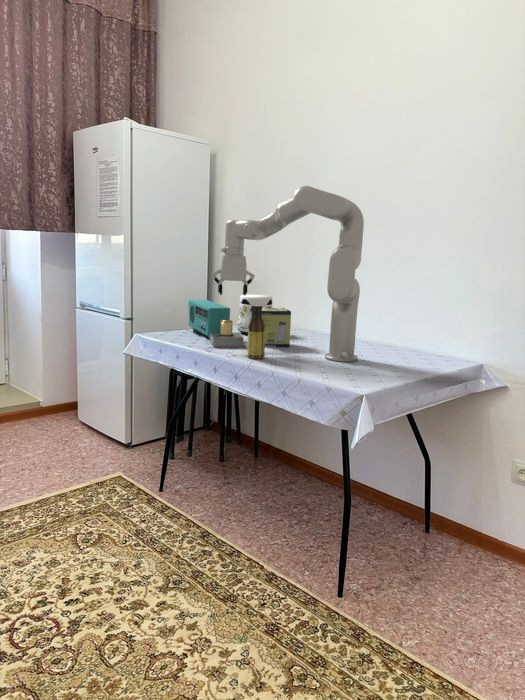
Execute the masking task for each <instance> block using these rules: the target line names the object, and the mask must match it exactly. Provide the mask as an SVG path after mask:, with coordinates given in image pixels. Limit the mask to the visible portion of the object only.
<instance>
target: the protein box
mask: <svg viewBox="0 0 525 700" xmlns="http://www.w3.org/2000/svg"><path fill="white" fill-rule="evenodd" d="M251 315H252V309H251V308H250V320H251ZM262 319H263V321H264V324H265V346H274V347H276V348H277V347H284V348H290V344H291V326H292V325H291V324H292V322H291V321H292V311H291V310H289V309H287V308H285V307H272V308H262Z"/></svg>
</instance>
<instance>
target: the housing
mask: <svg viewBox="0 0 525 700" xmlns="http://www.w3.org/2000/svg"><path fill="white" fill-rule="evenodd" d="M209 343H210V344H211V346H212V348H214V349H215V348H220V349H221V348H223V349H224V348H226V349H227V348H240V349H241V348H244V336H243V335H241V334H240V332H232V336H221V333H210V339H209Z"/></svg>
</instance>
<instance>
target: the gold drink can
mask: <svg viewBox="0 0 525 700" xmlns="http://www.w3.org/2000/svg"><path fill="white" fill-rule="evenodd" d="M233 324H234V323H233V320H232V319H230V320H221V336H232V333H233Z"/></svg>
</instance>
